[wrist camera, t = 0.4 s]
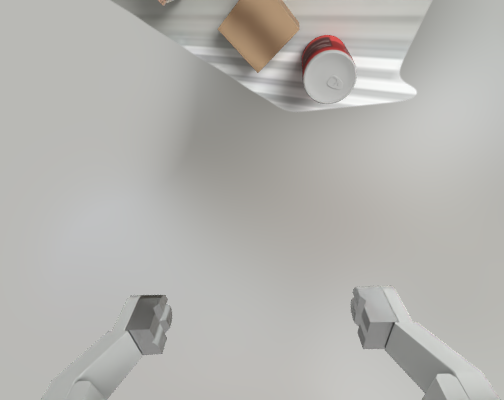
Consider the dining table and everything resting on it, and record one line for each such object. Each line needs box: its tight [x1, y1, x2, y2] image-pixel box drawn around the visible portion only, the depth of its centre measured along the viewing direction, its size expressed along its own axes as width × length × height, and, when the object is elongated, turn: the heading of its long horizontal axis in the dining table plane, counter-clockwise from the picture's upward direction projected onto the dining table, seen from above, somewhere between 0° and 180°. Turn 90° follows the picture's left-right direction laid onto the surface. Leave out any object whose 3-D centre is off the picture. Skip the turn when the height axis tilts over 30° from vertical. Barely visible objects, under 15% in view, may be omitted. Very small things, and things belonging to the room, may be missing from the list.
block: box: [218, 0, 299, 73], centre depth 43 cm, size 9×9×6 cm
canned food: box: [302, 35, 357, 104], centre depth 43 cm, size 8×8×11 cm
